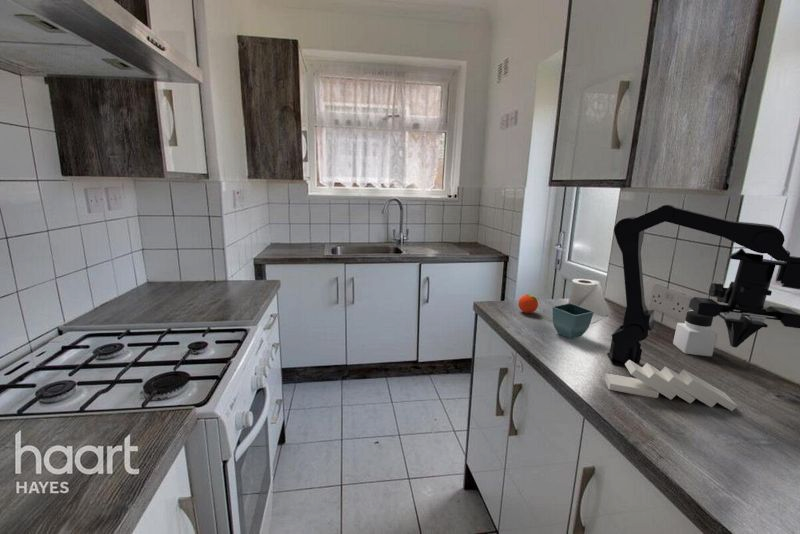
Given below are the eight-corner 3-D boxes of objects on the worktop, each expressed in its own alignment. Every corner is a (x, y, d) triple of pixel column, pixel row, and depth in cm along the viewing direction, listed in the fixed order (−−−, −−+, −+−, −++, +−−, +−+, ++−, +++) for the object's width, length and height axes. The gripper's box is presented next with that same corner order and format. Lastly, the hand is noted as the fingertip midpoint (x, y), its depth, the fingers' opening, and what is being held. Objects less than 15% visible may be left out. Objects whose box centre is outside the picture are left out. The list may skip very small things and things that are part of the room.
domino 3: (690, 403, 82) (649, 378, 84) (680, 391, 87) (642, 367, 88) (695, 398, 82) (654, 372, 83) (685, 386, 86) (646, 362, 88)
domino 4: (711, 407, 81) (668, 381, 83) (701, 395, 86) (660, 371, 87) (716, 402, 81) (673, 376, 82) (706, 390, 85) (665, 366, 87)
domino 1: (657, 398, 84) (609, 389, 87) (650, 387, 89) (604, 379, 92) (659, 392, 84) (610, 383, 87) (651, 381, 88) (605, 373, 91)
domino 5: (731, 411, 80) (687, 385, 82) (720, 398, 85) (678, 374, 86) (737, 405, 80) (693, 379, 81) (725, 393, 84) (683, 369, 86)
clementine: (542, 313, 137) (544, 294, 136) (536, 318, 132) (538, 299, 130) (521, 308, 142) (523, 290, 140) (514, 312, 137) (516, 294, 135)
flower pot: (571, 343, 112) (575, 315, 110) (548, 332, 120) (551, 306, 118) (590, 338, 116) (594, 311, 114) (566, 328, 124) (570, 302, 122)
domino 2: (670, 399, 83) (630, 374, 85) (662, 388, 88) (624, 364, 89) (676, 395, 83) (635, 369, 84) (667, 383, 87) (629, 359, 89)
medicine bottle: (712, 357, 106) (722, 317, 103) (684, 354, 107) (693, 315, 104) (698, 346, 113) (707, 309, 110) (672, 343, 114) (680, 307, 111)
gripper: (782, 278, 86) (763, 340, 90) (687, 268, 92) (673, 326, 95) (816, 291, 76) (793, 360, 79) (707, 279, 81) (690, 344, 85)
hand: (733, 346), depth 85 cm, fingers closed
